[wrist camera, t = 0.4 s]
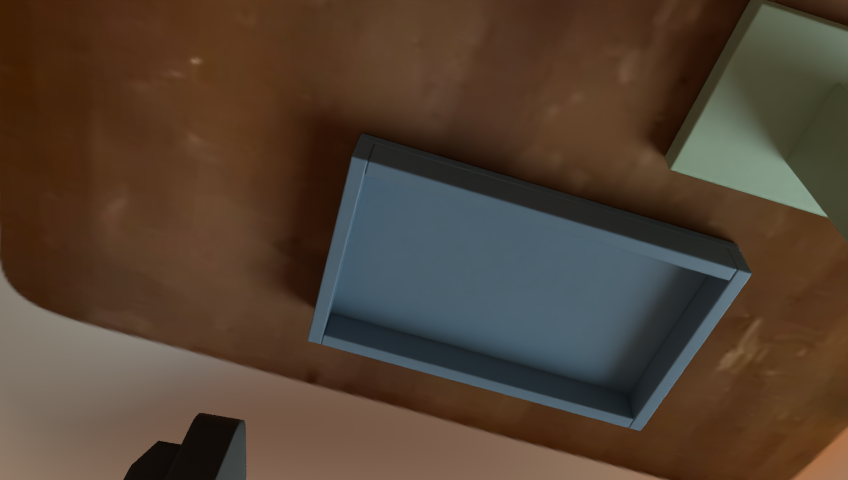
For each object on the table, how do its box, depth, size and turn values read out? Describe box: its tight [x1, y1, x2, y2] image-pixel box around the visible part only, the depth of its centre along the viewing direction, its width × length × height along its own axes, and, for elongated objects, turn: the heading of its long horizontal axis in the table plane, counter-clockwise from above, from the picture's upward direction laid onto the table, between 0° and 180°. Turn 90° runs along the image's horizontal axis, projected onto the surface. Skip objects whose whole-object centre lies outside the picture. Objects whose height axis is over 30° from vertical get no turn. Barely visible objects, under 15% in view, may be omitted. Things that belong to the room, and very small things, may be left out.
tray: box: [308, 133, 752, 431], centre depth 27 cm, size 15×9×2 cm, turn 75°
